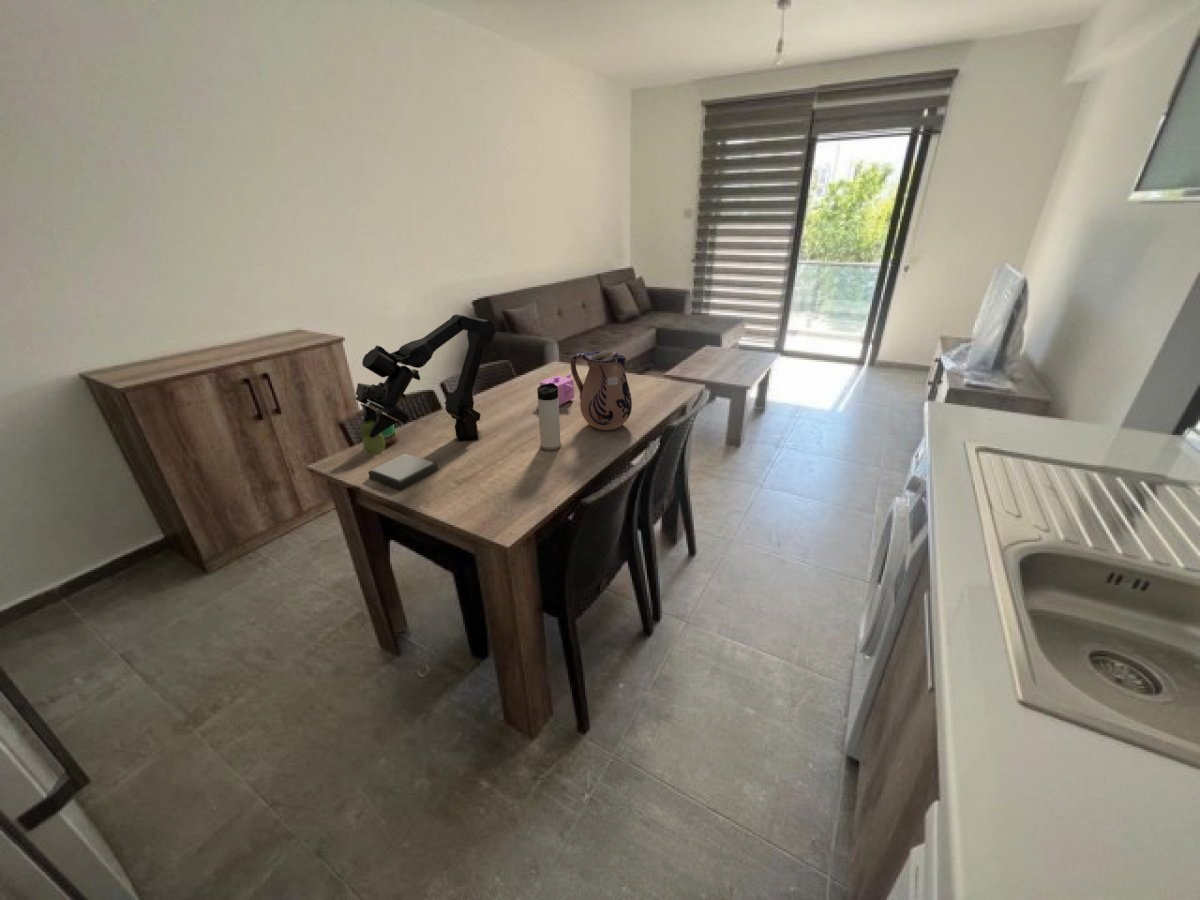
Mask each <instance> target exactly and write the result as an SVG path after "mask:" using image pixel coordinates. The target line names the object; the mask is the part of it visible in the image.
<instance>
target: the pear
mask: <svg viewBox="0 0 1200 900" xmlns="http://www.w3.org/2000/svg"><path fill="white" fill-rule="evenodd" d="M370 421H371V420H369V421H366V422H364V423H363V425H362V424H361V426H360V428H359V432H360V434H362V437H363V438H362V445H363V450H364V451H365V452H366V453H367V454H368V455H370V456H378V455H379V456H380V455H381V454H382V453H384V451H385V449H386V448H385V439H384V437H383V435H382V434H381V433H380V434H378V435H377V436H375V437H374V438H372V437H370V436H369V435H370V433H371V430H372V428H373V426H374V424H375V423H374V422H373V421H371V422H370Z"/></svg>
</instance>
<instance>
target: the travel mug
mask: <svg viewBox="0 0 1200 900" xmlns="http://www.w3.org/2000/svg"><path fill="white" fill-rule="evenodd" d="M536 391H537V408H538V409H537V410H538V411H537V412H538V422H539V423H538V424H539V425H538V426H539V440H540V448H541V449H542V450H545V451H551V452H552V451H557V450H558V449H560V448H561V445H562V444H561V425H560V422H561V421H560V406H559V399H558V387H557V386H556V385H555V384H554V383H549V384H545V385H541V386H540V385H539V386H538V387H537V388H536Z"/></svg>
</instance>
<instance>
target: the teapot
mask: <svg viewBox="0 0 1200 900" xmlns="http://www.w3.org/2000/svg"><path fill="white" fill-rule="evenodd" d="M571 376H573V375H572V373H568V374H567V376H565V377H564V376H560V375H553V376H551V377H549V378H546V379H544V380H542V381H540V382H539V386H541V385H545V384H549V383H554V384H555V385H556V386H557V387H558V399H559V407H560V406H563V404H566V403H569V402H570V401H571V400H573V399H574V398H575V386H574V384H575V383H574V382H575V380H574V378H571Z"/></svg>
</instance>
